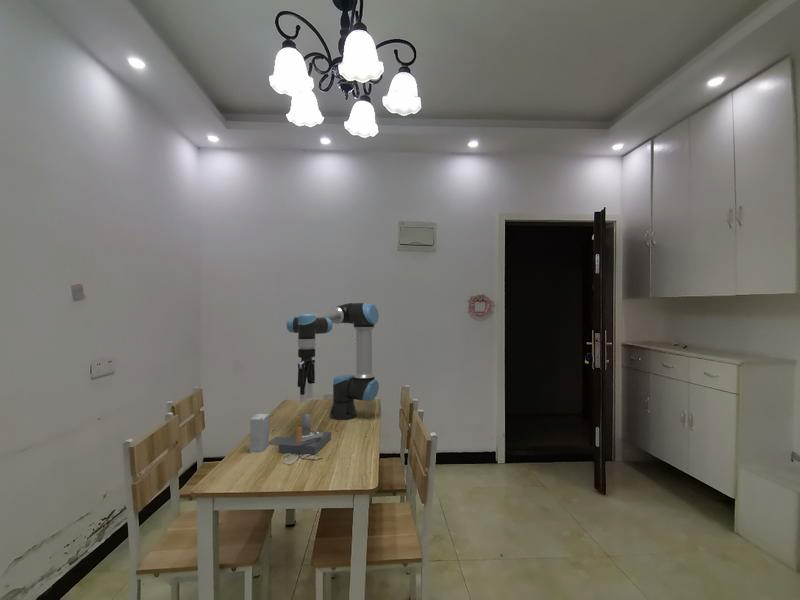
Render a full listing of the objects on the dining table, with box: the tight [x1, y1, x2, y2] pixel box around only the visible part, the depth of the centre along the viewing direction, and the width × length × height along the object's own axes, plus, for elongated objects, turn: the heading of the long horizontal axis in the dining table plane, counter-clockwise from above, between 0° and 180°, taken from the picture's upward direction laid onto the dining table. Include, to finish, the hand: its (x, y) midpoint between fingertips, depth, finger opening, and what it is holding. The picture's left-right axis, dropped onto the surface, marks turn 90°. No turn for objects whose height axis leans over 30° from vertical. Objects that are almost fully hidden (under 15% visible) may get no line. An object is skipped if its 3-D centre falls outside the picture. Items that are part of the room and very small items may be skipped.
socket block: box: [278, 430, 332, 456], centre depth 177 cm, size 20×16×6 cm
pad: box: [269, 436, 288, 446], centre depth 183 cm, size 10×10×1 cm
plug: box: [301, 412, 314, 441], centre depth 177 cm, size 7×7×14 cm
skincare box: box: [249, 413, 270, 454], centre depth 173 cm, size 8×6×15 cm
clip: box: [295, 426, 323, 443], centre depth 171 cm, size 5×14×6 cm, turn 138°
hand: (306, 399), depth 177 cm, fingers open, 7 cm apart
